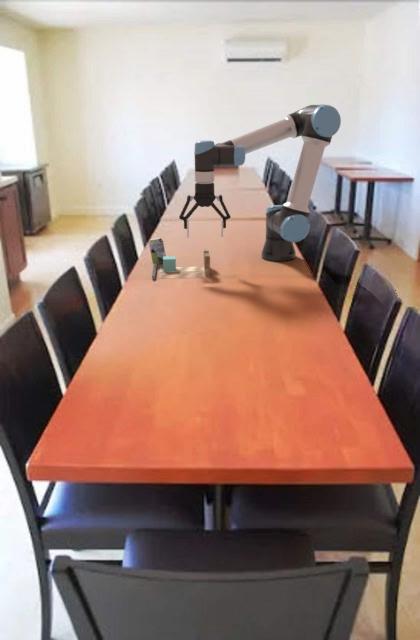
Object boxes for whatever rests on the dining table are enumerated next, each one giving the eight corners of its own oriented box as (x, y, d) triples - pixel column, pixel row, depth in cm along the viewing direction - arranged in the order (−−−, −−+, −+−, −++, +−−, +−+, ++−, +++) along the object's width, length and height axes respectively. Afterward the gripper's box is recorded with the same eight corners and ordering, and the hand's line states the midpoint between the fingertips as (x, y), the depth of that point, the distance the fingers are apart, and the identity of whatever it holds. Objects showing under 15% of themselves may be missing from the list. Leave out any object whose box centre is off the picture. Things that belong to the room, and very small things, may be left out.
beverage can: (164, 267, 238) (163, 239, 234) (148, 267, 240) (146, 239, 236) (168, 263, 244) (167, 236, 240) (152, 263, 246) (151, 236, 241)
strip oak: (209, 274, 226) (209, 252, 223) (210, 279, 220) (210, 256, 217) (159, 276, 226) (158, 254, 222) (159, 281, 219) (157, 258, 216)
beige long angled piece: (208, 268, 235) (208, 247, 232) (209, 273, 228) (208, 251, 225) (160, 270, 234) (159, 248, 231) (159, 274, 228) (158, 252, 224)
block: (175, 267, 233) (175, 256, 231) (175, 271, 228) (175, 259, 227) (163, 268, 233) (163, 256, 231) (163, 271, 228) (162, 259, 226)
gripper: (235, 180, 223) (235, 234, 231) (172, 181, 222) (173, 235, 229) (237, 183, 216) (236, 238, 224) (172, 183, 215) (173, 239, 222)
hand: (205, 236), depth 226 cm, fingers open, 13 cm apart
